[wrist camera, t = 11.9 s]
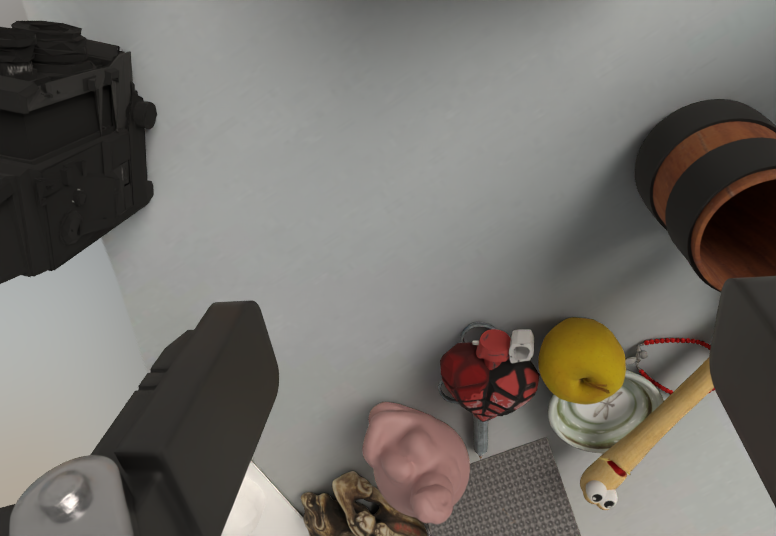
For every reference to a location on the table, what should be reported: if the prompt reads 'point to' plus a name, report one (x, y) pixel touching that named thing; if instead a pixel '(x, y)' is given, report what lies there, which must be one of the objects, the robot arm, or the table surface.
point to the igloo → (262, 510)
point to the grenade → (491, 373)
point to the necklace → (644, 354)
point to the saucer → (604, 415)
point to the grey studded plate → (512, 497)
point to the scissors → (479, 426)
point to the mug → (714, 188)
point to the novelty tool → (642, 440)
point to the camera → (66, 145)
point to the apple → (582, 361)
